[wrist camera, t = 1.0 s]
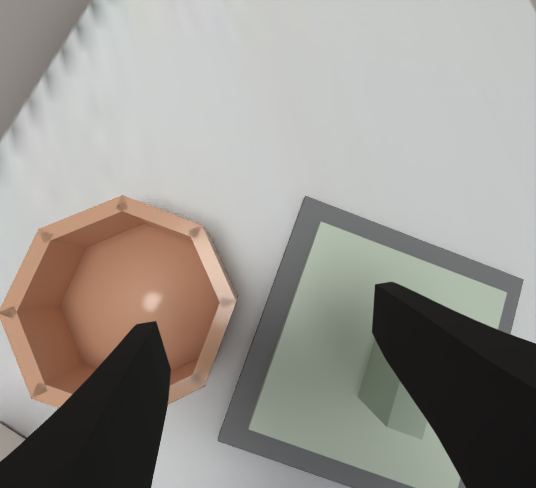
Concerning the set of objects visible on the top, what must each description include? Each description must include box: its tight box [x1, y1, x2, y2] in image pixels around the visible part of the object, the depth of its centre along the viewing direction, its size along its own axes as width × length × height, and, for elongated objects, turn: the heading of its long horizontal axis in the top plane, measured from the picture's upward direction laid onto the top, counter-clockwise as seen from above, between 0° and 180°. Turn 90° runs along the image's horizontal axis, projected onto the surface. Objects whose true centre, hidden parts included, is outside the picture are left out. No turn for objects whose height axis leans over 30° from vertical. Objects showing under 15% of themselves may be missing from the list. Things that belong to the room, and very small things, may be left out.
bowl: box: [0, 195, 238, 408], centre depth 18 cm, size 11×11×4 cm
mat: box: [218, 196, 523, 488], centre depth 21 cm, size 17×17×1 cm
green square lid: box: [248, 222, 507, 488], centre depth 18 cm, size 14×14×5 cm
